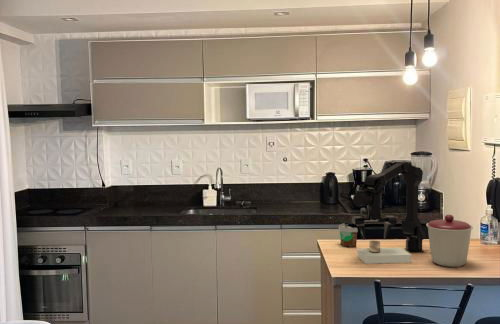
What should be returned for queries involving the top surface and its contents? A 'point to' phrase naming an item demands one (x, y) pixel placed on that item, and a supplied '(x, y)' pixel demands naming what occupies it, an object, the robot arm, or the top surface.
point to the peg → (374, 246)
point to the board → (384, 256)
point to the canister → (449, 241)
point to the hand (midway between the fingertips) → (374, 239)
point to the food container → (348, 236)
